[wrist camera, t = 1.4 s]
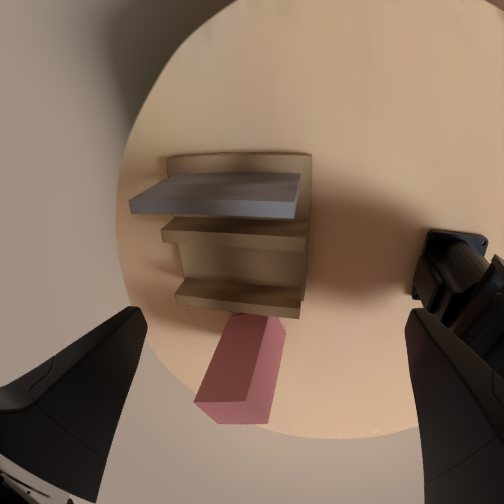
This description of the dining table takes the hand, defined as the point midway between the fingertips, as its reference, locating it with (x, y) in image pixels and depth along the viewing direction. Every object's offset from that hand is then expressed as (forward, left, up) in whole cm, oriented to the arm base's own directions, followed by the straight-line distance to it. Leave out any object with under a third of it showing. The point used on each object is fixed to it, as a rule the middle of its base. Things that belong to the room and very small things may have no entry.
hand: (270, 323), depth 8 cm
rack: (+4, +3, -13) cm, 14 cm away
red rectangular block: (+3, +13, -13) cm, 19 cm away
